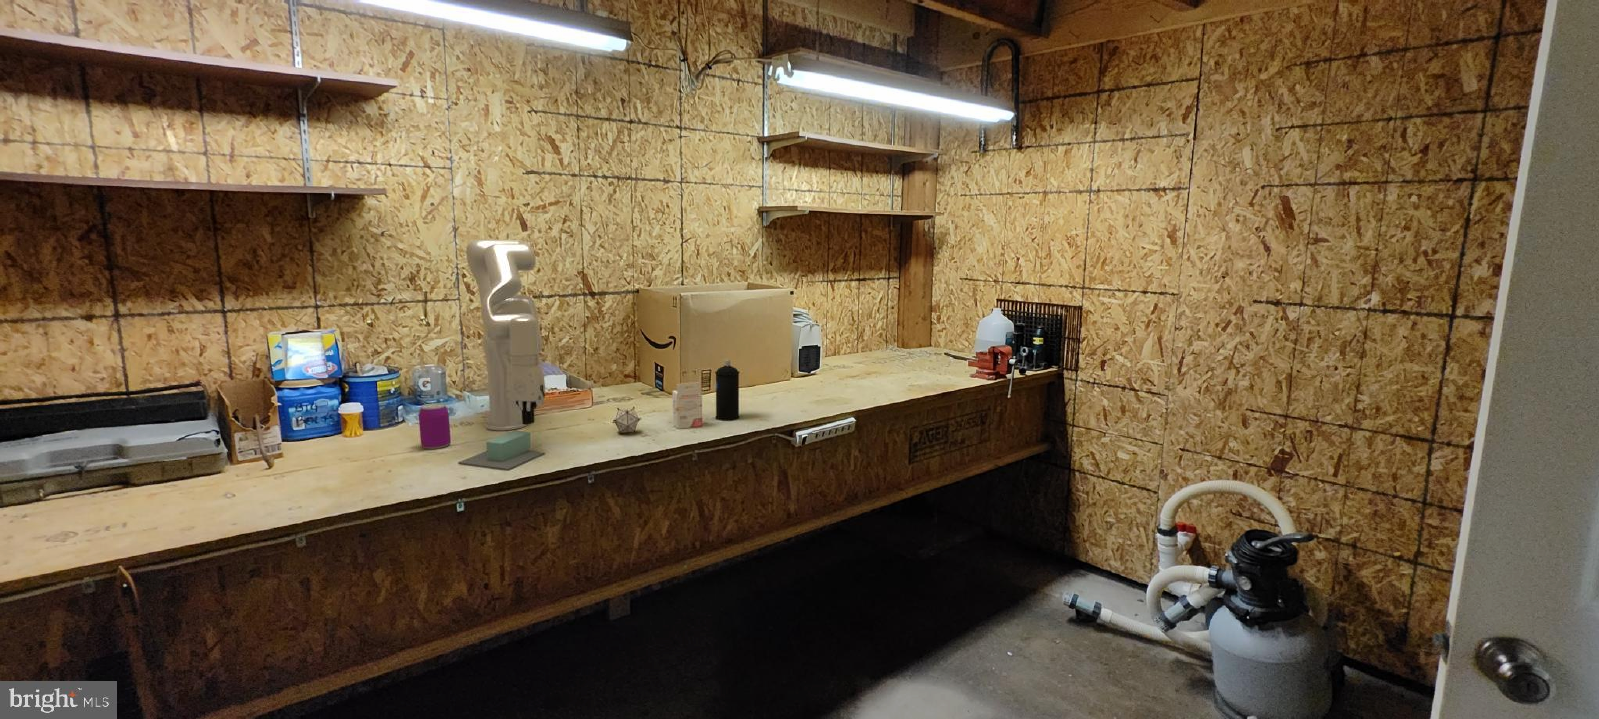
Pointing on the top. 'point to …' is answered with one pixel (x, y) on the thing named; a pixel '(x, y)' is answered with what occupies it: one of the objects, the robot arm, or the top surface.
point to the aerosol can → (727, 392)
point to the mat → (508, 464)
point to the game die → (626, 420)
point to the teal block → (509, 445)
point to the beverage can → (434, 426)
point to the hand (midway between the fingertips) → (528, 423)
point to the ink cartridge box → (687, 406)
